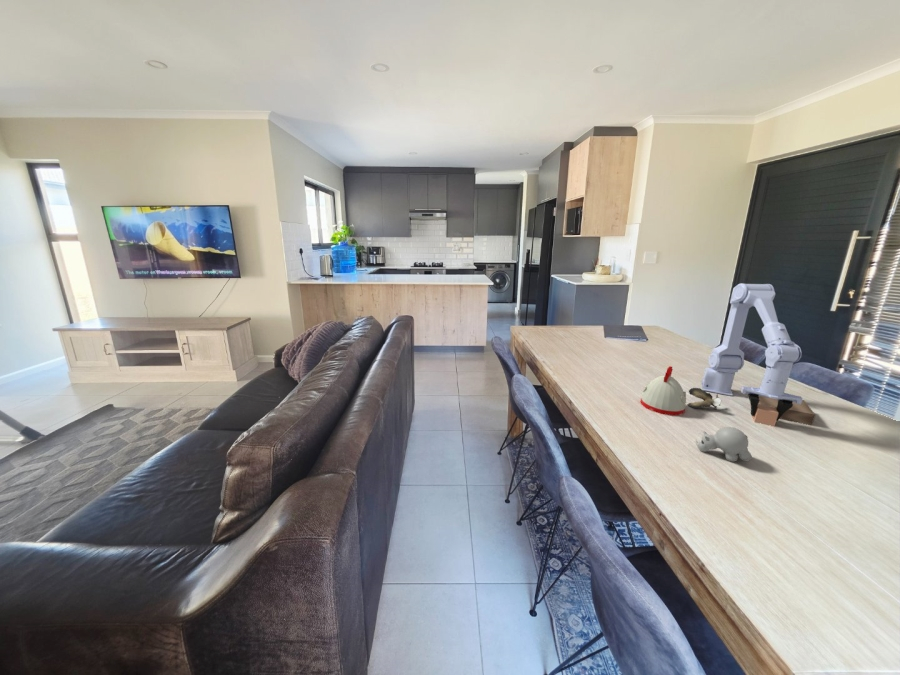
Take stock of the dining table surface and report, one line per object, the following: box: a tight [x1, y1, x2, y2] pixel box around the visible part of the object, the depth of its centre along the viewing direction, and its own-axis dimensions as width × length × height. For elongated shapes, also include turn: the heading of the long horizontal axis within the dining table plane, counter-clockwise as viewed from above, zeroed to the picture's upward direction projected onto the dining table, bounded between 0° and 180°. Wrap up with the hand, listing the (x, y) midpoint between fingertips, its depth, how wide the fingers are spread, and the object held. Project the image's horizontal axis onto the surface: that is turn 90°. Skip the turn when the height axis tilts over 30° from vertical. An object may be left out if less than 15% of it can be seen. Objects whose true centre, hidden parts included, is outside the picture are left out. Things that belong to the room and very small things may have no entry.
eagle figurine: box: [687, 387, 722, 410], centre depth 122 cm, size 8×7×9 cm
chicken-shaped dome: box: [639, 365, 687, 416], centre depth 122 cm, size 14×14×15 cm
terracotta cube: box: [751, 404, 778, 427], centre depth 113 cm, size 5×5×5 cm
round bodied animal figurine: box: [694, 426, 753, 462], centre depth 95 cm, size 7×12×8 cm, turn 59°
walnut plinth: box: [758, 396, 816, 426], centre depth 118 cm, size 12×12×4 cm
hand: (763, 417), depth 113 cm, fingers open, 5 cm apart
